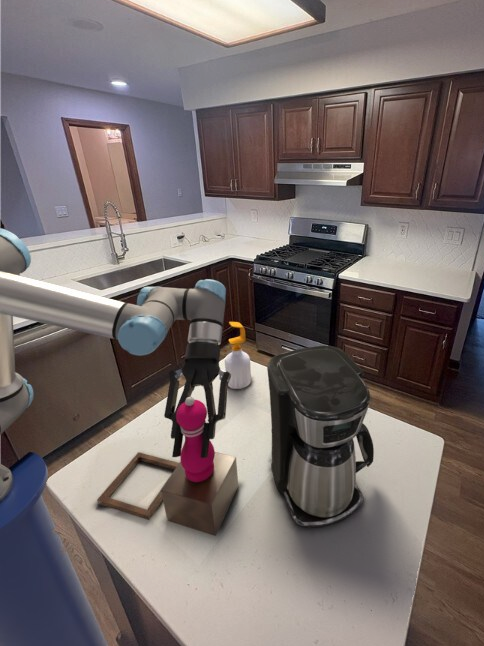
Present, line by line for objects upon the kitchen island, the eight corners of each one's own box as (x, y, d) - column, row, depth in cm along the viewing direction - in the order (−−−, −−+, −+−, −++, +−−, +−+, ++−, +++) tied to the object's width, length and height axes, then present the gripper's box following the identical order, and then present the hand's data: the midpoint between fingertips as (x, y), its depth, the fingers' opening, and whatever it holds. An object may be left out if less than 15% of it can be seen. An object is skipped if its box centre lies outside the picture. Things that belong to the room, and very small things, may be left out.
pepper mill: (216, 481, 67) (207, 407, 59) (181, 487, 66) (167, 413, 58) (216, 453, 74) (208, 384, 66) (184, 459, 72) (172, 388, 64)
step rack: (98, 504, 73) (87, 473, 69) (139, 456, 86) (132, 428, 82) (213, 541, 66) (209, 509, 62) (240, 482, 78) (237, 453, 75)
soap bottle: (223, 378, 118) (218, 320, 109) (246, 372, 122) (242, 315, 113) (231, 392, 111) (226, 331, 101) (254, 385, 115) (252, 325, 105)
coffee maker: (321, 553, 64) (330, 427, 51) (232, 457, 86) (222, 351, 72) (380, 484, 78) (400, 371, 65) (291, 416, 100) (292, 322, 87)
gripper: (245, 349, 75) (237, 456, 66) (171, 348, 75) (153, 454, 67) (240, 340, 68) (231, 459, 59) (158, 339, 68) (137, 457, 60)
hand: (190, 456), depth 63 cm, fingers closed on pepper mill, 5 cm apart
